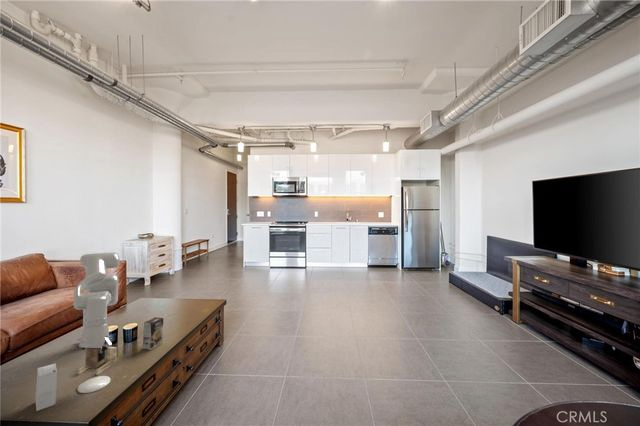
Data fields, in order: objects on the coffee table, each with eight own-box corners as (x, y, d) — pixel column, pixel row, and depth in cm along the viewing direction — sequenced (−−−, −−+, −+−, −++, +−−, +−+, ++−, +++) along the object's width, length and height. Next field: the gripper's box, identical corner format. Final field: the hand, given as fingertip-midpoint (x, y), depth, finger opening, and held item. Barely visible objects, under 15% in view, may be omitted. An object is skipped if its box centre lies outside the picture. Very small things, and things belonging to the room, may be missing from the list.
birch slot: (77, 374, 135) (77, 358, 135) (97, 361, 148) (98, 346, 148) (97, 375, 135) (98, 359, 135) (116, 361, 148) (116, 347, 148)
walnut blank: (85, 367, 125) (86, 348, 125) (94, 361, 130) (95, 343, 130) (95, 367, 125) (96, 348, 125) (104, 362, 130) (105, 343, 130)
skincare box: (34, 402, 115) (36, 368, 115) (54, 395, 120) (55, 362, 120) (36, 412, 110) (37, 376, 110) (56, 404, 115) (58, 369, 115)
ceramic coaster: (70, 392, 122) (70, 391, 122) (92, 376, 134) (92, 375, 134) (96, 393, 122) (96, 392, 122) (116, 377, 134) (116, 376, 134)
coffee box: (151, 350, 161) (152, 323, 161) (142, 348, 162) (143, 322, 162) (163, 343, 170) (164, 317, 170) (154, 341, 171) (155, 316, 171)
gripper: (71, 324, 124) (70, 363, 124) (107, 325, 124) (106, 365, 124) (85, 318, 132) (84, 355, 132) (120, 319, 132) (118, 356, 131)
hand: (95, 359), depth 128 cm, fingers closed on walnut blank, 5 cm apart
